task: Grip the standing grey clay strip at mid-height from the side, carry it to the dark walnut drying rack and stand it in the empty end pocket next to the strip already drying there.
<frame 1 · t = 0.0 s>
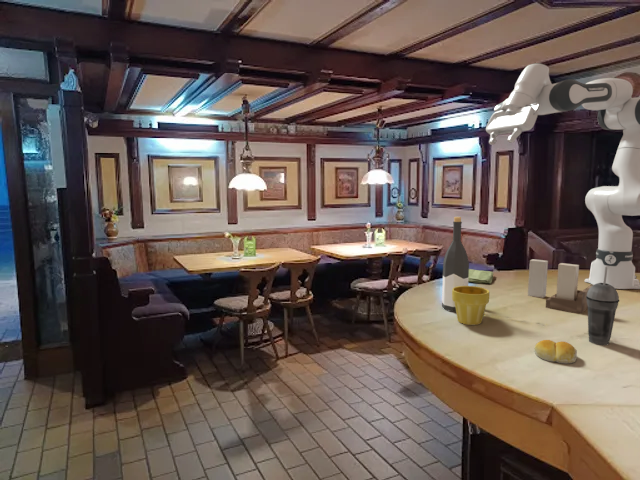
hand: (500, 142, 154), 54 cm above the table, tool tilted 30°, fingers open, 8 cm apart
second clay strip: (565, 308, 141), point 1 cm above the table, touching drying rack
drying rack: (570, 309, 145), on the table
plant pot: (469, 322, 133), on the table
clay strip: (536, 299, 157), on the table
washcloth: (476, 280, 191), on the table
bread roll: (555, 358, 107), on the table
wine bottle: (454, 308, 147), on the table
beverage cup: (598, 342, 116), on the table
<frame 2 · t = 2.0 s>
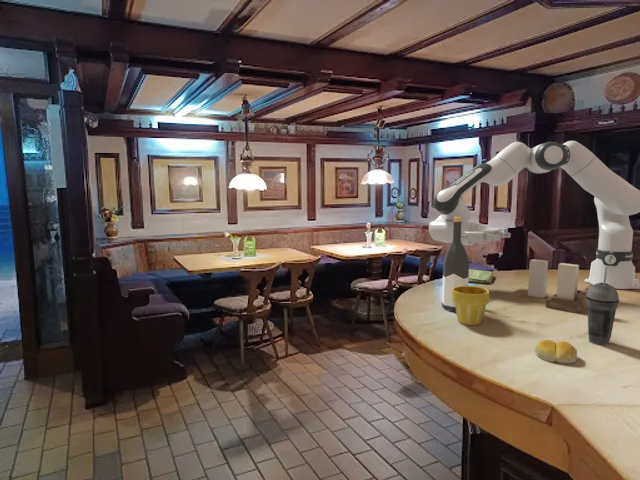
hand: (504, 236, 163), 21 cm above the table, tool horizontal, fingers open, 8 cm apart
nothing on the table moved.
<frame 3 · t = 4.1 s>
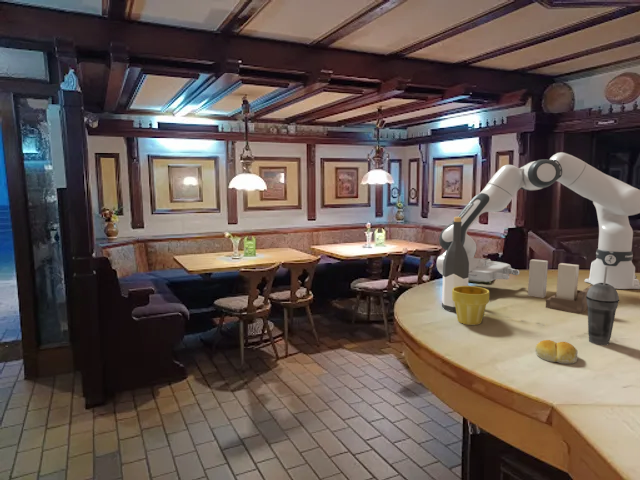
hand: (513, 274, 162), 8 cm above the table, tool horizontal, fingers open, 8 cm apart
nothing on the table moved.
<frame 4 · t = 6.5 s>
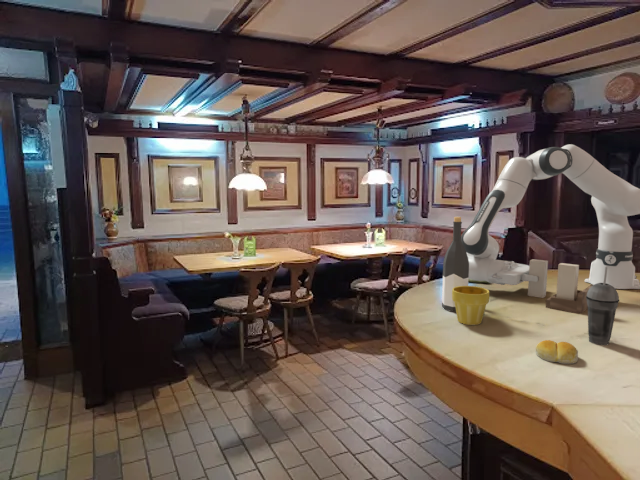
hand: (540, 277, 155), 8 cm above the table, tool horizontal, fingers closed on clay strip, 3 cm apart
clay strip: (536, 299, 157), on the table, touching gripper
everything else where it was.
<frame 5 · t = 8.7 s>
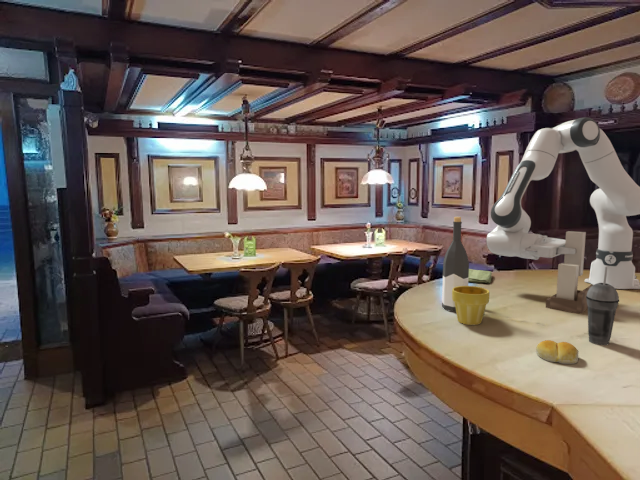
hand: (577, 250, 147), 19 cm above the table, tool horizontal, fingers closed on clay strip, 3 cm apart
clay strip: (573, 274, 148), point 11 cm above the table, touching gripper
everything else where it was.
when the fingers open (11 cm above the table, at t = 11.0 s): clay strip drops 1 cm, resting on drying rack.
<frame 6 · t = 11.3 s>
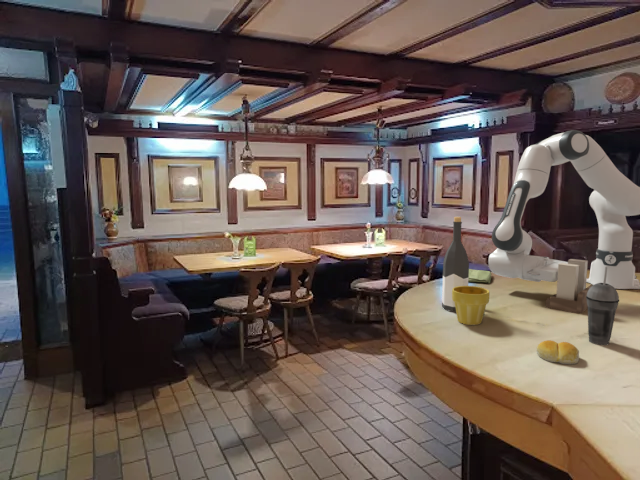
hand: (580, 274, 147), 11 cm above the table, tool horizontal, fingers open, 5 cm apart
clay strip: (574, 301, 149), point 1 cm above the table, touching drying rack
everything else where it was.
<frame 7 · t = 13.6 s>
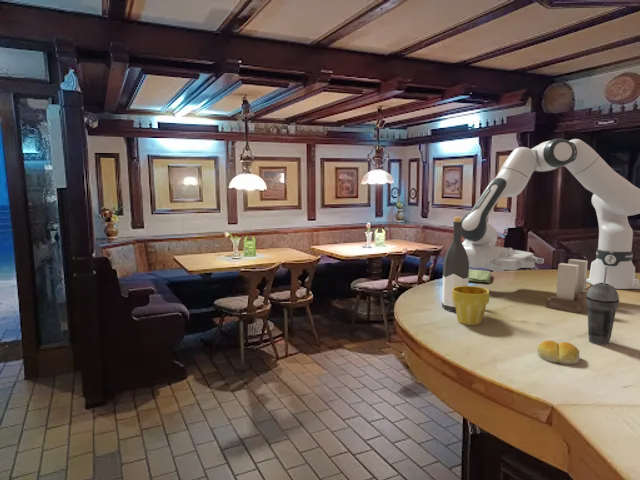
hand: (538, 263, 156), 13 cm above the table, tool horizontal, fingers open, 8 cm apart
nothing on the table moved.
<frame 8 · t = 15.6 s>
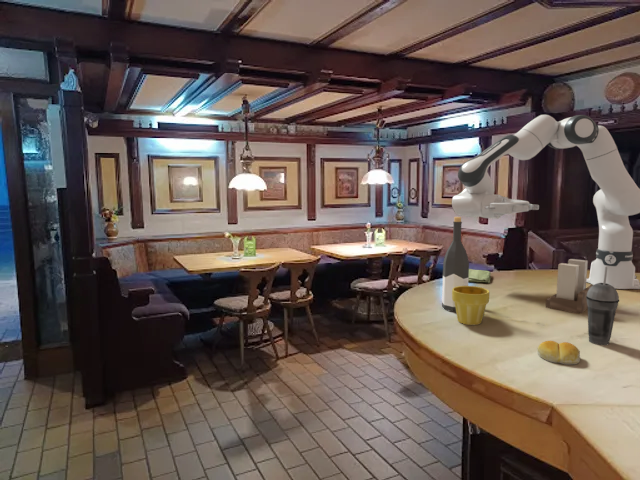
hand: (533, 208, 156), 32 cm above the table, tool horizontal, fingers open, 8 cm apart
at the end: clay strip 0.1 cm from the target spot on the drying rack, point 1.5 cm above the drying rack's base; clay strip tilted 0°; the gripper is holding nothing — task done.
